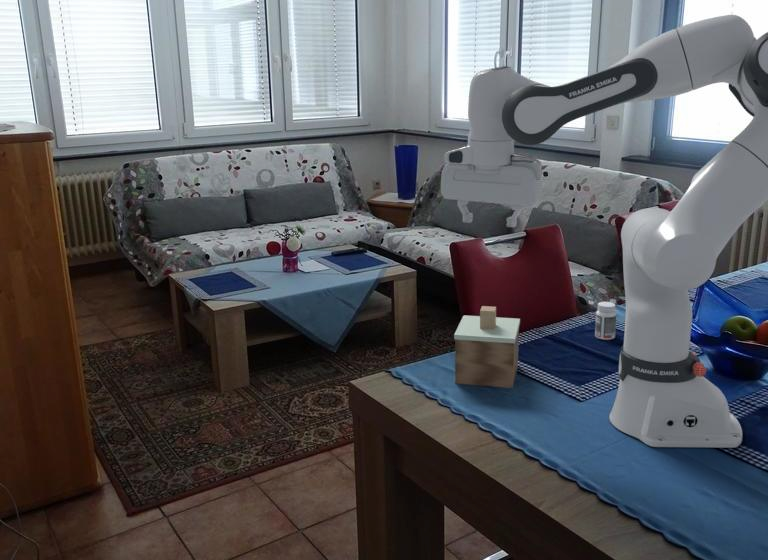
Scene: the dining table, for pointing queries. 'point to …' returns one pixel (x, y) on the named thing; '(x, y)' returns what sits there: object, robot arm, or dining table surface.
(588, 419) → the dining table surface
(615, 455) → the dining table surface
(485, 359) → the box
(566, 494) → the dining table surface
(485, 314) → the lid
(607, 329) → the pill bottle
